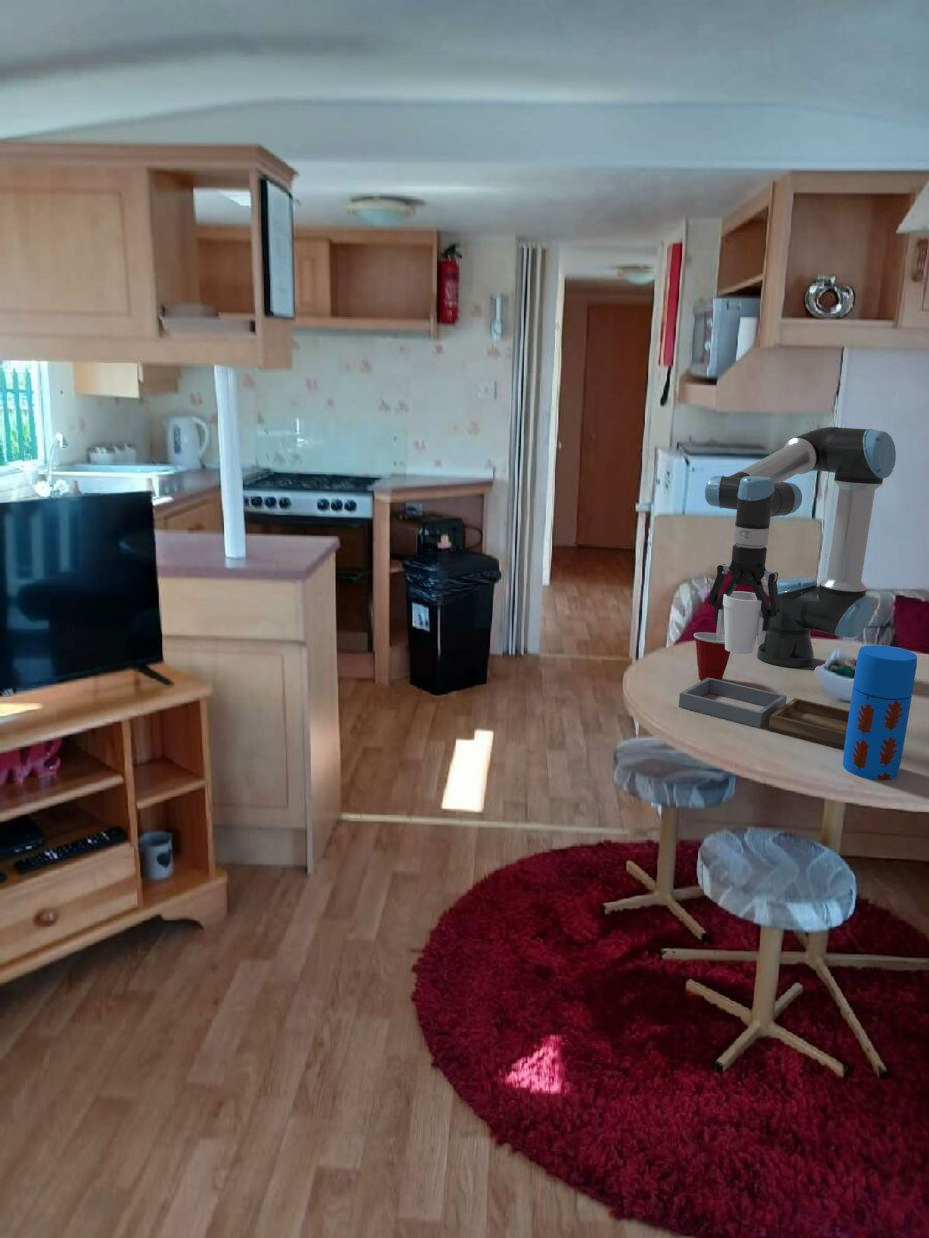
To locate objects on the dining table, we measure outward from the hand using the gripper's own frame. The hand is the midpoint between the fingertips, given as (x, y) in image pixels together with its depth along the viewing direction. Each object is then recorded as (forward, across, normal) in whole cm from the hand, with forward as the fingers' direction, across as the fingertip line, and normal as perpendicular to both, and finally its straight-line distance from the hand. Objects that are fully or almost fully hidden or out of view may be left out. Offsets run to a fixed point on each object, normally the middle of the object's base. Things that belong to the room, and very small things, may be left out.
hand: (739, 639), depth 222 cm
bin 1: (+17, 0, 0) cm, 17 cm away
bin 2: (+17, +22, 0) cm, 28 cm away
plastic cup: (+17, -13, +17) cm, 27 cm away
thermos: (+17, +36, -15) cm, 43 cm away
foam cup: (+3, 0, 0) cm, 3 cm away
